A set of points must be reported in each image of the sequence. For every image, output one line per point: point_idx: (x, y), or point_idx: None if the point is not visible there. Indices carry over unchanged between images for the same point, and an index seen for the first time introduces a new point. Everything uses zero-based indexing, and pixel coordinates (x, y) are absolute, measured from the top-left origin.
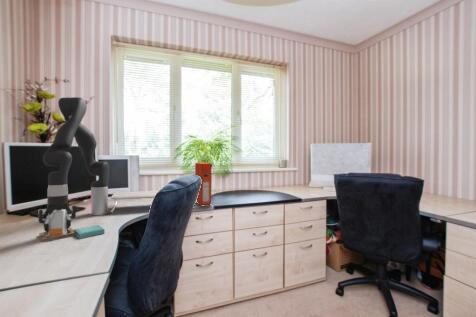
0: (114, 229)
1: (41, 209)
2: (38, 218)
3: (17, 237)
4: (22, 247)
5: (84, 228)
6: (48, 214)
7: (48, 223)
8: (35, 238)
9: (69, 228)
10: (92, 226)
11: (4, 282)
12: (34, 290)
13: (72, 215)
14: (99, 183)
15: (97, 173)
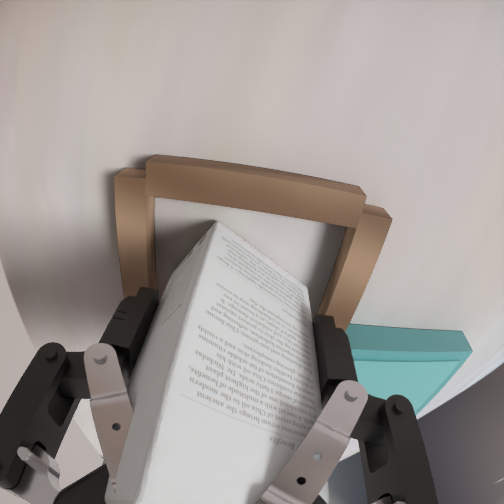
0: (460, 385)
1: (12, 491)
2: (23, 377)
3: (19, 97)
4: (64, 328)
5: (379, 381)
6: (103, 463)
7: (135, 370)
8: (100, 226)
9: (365, 247)
10: (429, 372)
11: (94, 447)
12: None
13: (365, 447)
14: None
15: None
